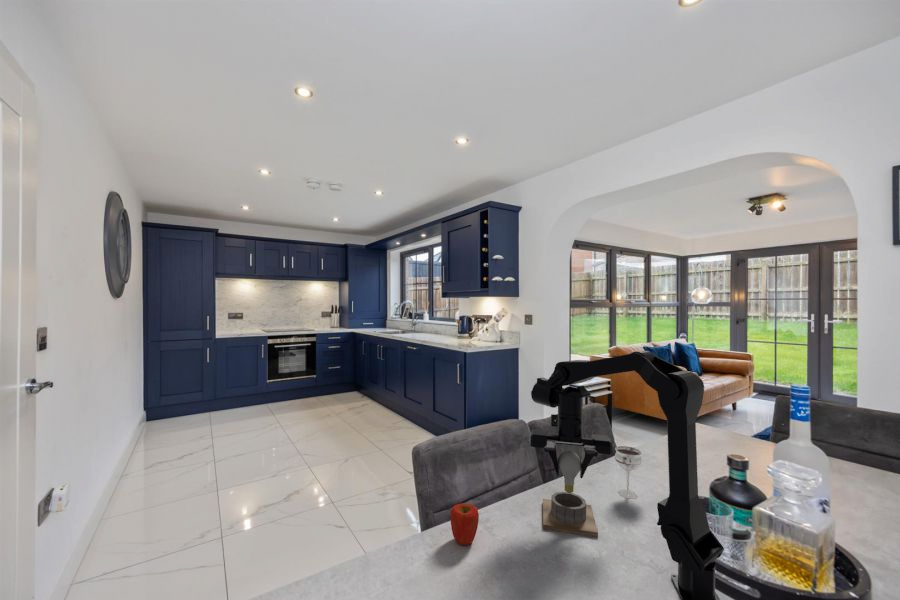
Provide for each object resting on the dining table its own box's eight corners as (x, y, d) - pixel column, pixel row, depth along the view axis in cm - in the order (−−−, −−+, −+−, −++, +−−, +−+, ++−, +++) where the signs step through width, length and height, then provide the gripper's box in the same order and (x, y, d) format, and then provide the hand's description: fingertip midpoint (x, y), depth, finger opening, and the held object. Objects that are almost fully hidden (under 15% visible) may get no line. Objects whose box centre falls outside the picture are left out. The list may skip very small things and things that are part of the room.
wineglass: (634, 503, 100) (634, 457, 101) (609, 492, 106) (610, 449, 106) (645, 495, 105) (646, 451, 105) (621, 485, 110) (622, 444, 110)
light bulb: (582, 499, 89) (582, 457, 89) (558, 496, 90) (558, 454, 91) (579, 488, 95) (579, 448, 95) (556, 486, 96) (557, 446, 96)
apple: (471, 529, 87) (471, 497, 87) (483, 546, 82) (483, 511, 82) (445, 535, 85) (446, 501, 85) (456, 552, 79) (456, 516, 79)
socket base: (598, 537, 85) (598, 517, 85) (543, 528, 88) (543, 509, 88) (590, 509, 97) (591, 491, 97) (542, 502, 100) (543, 485, 100)
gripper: (605, 406, 98) (604, 466, 98) (531, 401, 103) (531, 459, 103) (613, 418, 88) (612, 486, 87) (530, 412, 92) (530, 477, 92)
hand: (569, 476), depth 93 cm, fingers closed on light bulb, 5 cm apart
